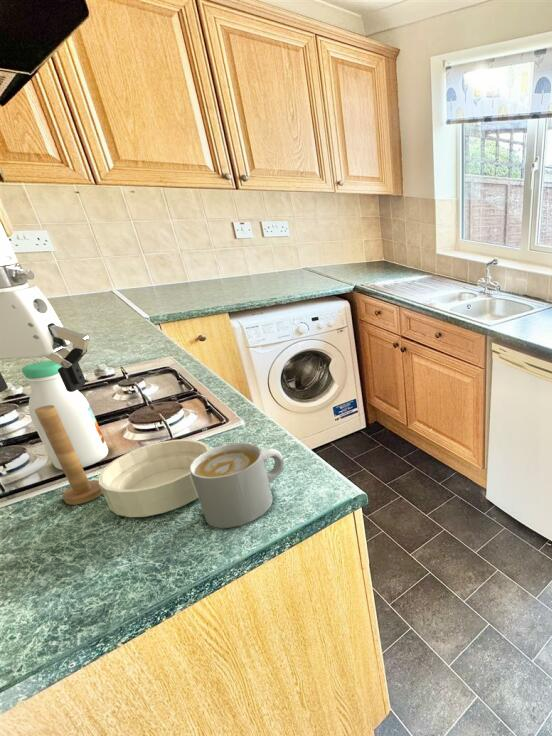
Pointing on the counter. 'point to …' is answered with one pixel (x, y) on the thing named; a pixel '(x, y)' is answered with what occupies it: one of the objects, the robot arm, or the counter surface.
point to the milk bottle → (64, 413)
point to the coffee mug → (234, 483)
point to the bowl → (151, 478)
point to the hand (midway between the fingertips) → (38, 390)
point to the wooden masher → (67, 458)
